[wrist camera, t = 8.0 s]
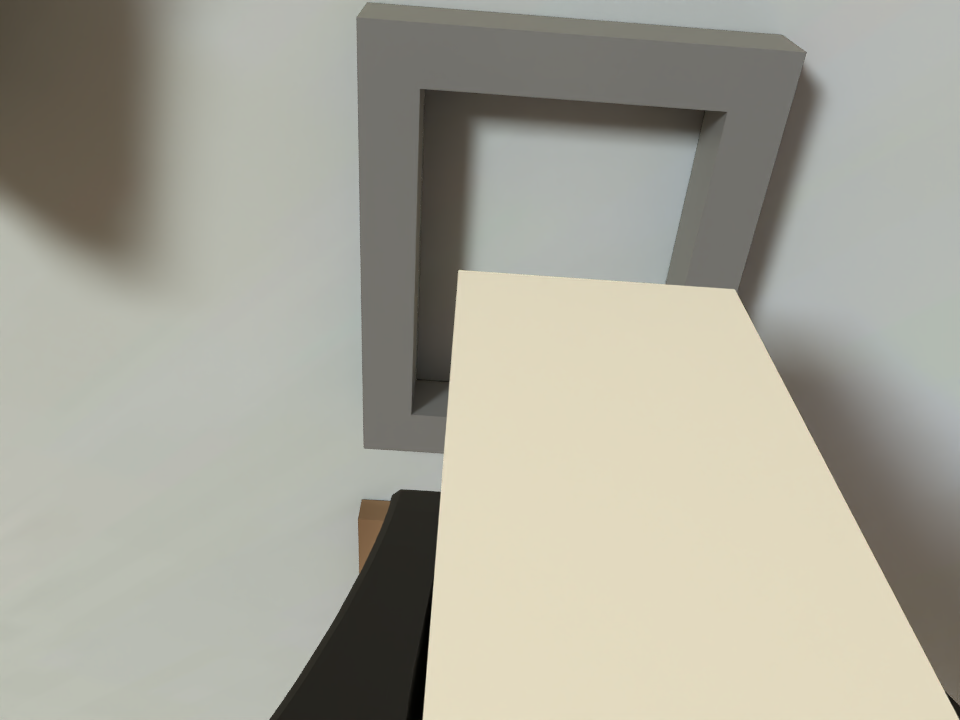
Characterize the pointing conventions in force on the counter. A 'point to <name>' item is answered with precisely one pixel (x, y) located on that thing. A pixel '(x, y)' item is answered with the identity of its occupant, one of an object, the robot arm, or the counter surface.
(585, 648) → the plug
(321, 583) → the counter surface
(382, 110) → the grey picture frame
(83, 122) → the counter surface
